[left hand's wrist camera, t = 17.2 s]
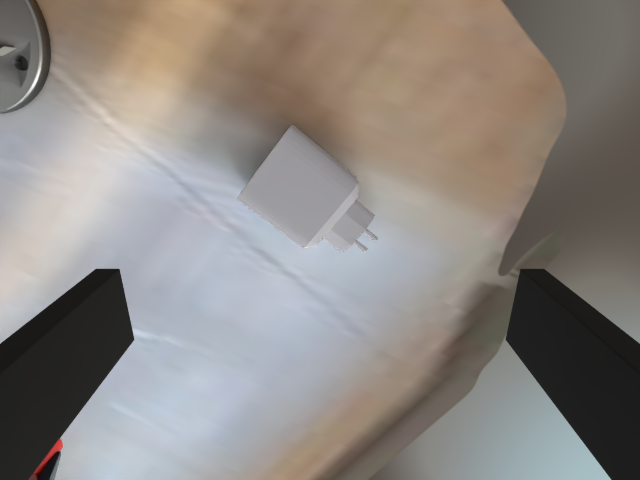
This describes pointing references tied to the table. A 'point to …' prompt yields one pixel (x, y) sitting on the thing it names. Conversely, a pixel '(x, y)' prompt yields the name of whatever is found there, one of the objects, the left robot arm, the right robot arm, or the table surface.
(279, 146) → the charger
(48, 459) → the can
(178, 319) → the table surface
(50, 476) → the right robot arm
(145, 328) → the table surface
